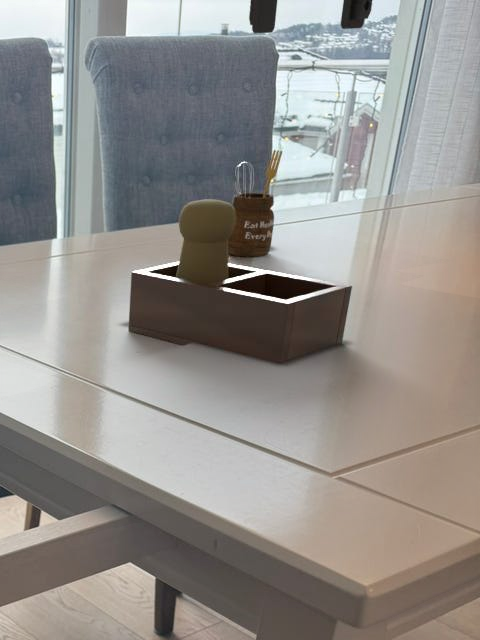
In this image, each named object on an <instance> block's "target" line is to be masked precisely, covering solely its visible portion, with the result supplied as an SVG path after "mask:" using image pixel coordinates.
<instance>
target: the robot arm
mask: <svg viewBox="0 0 480 640" xmlns="http://www.w3.org/2000/svg"><path fill="white" fill-rule="evenodd" d="M373 2H374V1H373V0H343V2H342V10H341V18H340V27H341V29H342V30H349V29H350V30H351V29H362V28H363V26H364V24H365V20H368V19H369V17H370V14H371V13H372V7H373ZM277 7H278V0H250V4H249V15H248V20H249V25H250V26H251V31H252V33H253V34H271V33H274V30H275V27H276V18H277V9H278V8H277Z"/></svg>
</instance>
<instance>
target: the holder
mask: <svg viewBox="0 0 480 640" xmlns="http://www.w3.org/2000/svg"><path fill="white" fill-rule="evenodd" d="M178 265H179V261H176V262H170V263H167V264H162V265H157V266H153V267H147V268H144V269H138V270H133V271H131V277H130V295H129V311H128V328H127V329H128V332H132V333H135V334H138V335H142V336H147V337H150V338H154V339H157V340H163V341H166V342H169V343H174V344H178V345H182V346H187V345H190V344H193V343H197V344H201V345H205V346H209V347H212V348H217V349H219V350H225V351H228V352H232V353H236V354H239V355H244V356H247V357H252V358H255V359H260V360H264V361H267V362H270V363H274V364H275V363H276V364H283V363H285V362H289V361H292V360H295V359H298V358H301V357H303V356H307V355H311V354H313V353H316V352H318V351H319V352H320V351H322V350H325V349H328V348H331V347H335V346H337V345H340V344H342V343H343V341H344V333H345V328H346V323H347V318H348V312H349V305H350V300H351V295H352V290H353V286H352V285H349V284H344V283H338V282H333V281H329V280H328V281H327V280H322V279H315V278H311V277H305V276H299V275H294V274H288V273H283V272H276V271H272V270H265V269H260V268H254V267H250V266H244V265H238V264H233V263H228V279H227V280H223V281H218V282H214V283H210V284H203V283H198V282H193V281H188V280H183V279H178V278H176V275H177V270H178Z"/></svg>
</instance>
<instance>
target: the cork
mask: <svg viewBox="0 0 480 640" xmlns="http://www.w3.org/2000/svg"><path fill="white" fill-rule="evenodd" d="M235 225H236V212H235V210H234V207H233V205H232V203H230V202H228V201H223V200H219V199H213V198H212V199H211V198H207V199H205V198H204V199H198V200H194V201H191V202H188V203H186V204H185V205H184V206H183V208H182V209H181V211H180V214H179V217H178V228H179V232H180V234H181V237H182V238H183V240H182V245H181V251H180V255H179V260H178V262H179V265H178V270H177V275H176V278H178V279H183V280H188V281H193V282H198V283H203V284H210V283H214V282H218V281H223V280H227V279H228V264H229V254H228V238H229V237H230V236H231V234H232V233H233V231H234V228H235Z"/></svg>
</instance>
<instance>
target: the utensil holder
mask: <svg viewBox="0 0 480 640" xmlns="http://www.w3.org/2000/svg"><path fill="white" fill-rule="evenodd" d="M282 155H283V150H279V149H277V150H276V149H274V150H273V151H272V154H271V158H270V161H269V164H268V167H267V170H266V173H265V177H266V178H267V182H266V185H265V189H264V191H263V193H262V192H253V189H254V187H252V186H254V184H255V181H252V180H253V177H255V173H254V170H251V169H254V167H253V165H252V164H251V163H250V162H248V161H242V162H240V163H239V164H238V166H236V167H235V170H234V173H236V171H237V173H236V175H237V182H235V183H234V185H235V187H236V188H235V189H236V190H235V191H236V192H237V193H236V194H234V195H233V198H232V201H231V205H232V206H233V207H234V210H235V212H236V225H235V228H234V231H233V233H232V234H231V236H230V237H229V238H228V255H230V256H235V257H242V258H243V257H245V258H250V257H252V258H254V257H262V256H267V255H268V254H269V252H270V251H271V246H272V241H273V232H274V226H275V225H274V224H275V214H274V213H275V212H274V211H273V210H272V209H271V208H272V207H273V206H274V205H275V198H274V197H275V196H274V195H273V194H270V193H268V192H269V188H270V184H271V181H272V180H273V179H275V178H276V177H277V176H276V175H277V173H278V170H279V165H280V162H281V159H282ZM242 164H243V166H242V167H243V168H242V173H243V174H242V176H243V179H242V180H243V184H244V192H243V193H242V192H241V191H240V190H241V188H240V186H239V183H240V180H239V179H240V177H239V174H240V173H239V170H240V167H241V165H242ZM245 165H247V166H248V170H250V175H249V181H250V183H249V192H246V189H247V188H246V181H245ZM249 165H250V166H249ZM237 168H238V169H237ZM252 172H253V173H252ZM252 182H253V184H252Z"/></svg>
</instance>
